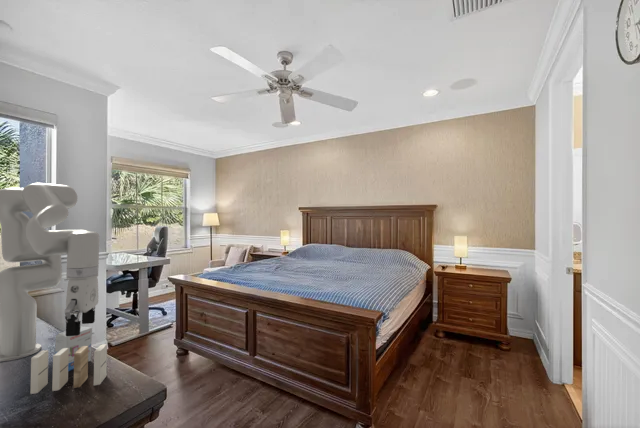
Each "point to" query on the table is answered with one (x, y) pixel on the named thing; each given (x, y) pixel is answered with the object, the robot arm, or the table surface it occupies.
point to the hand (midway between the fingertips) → (80, 329)
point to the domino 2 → (60, 369)
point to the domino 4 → (100, 364)
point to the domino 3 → (80, 366)
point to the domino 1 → (39, 371)
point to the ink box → (74, 343)
